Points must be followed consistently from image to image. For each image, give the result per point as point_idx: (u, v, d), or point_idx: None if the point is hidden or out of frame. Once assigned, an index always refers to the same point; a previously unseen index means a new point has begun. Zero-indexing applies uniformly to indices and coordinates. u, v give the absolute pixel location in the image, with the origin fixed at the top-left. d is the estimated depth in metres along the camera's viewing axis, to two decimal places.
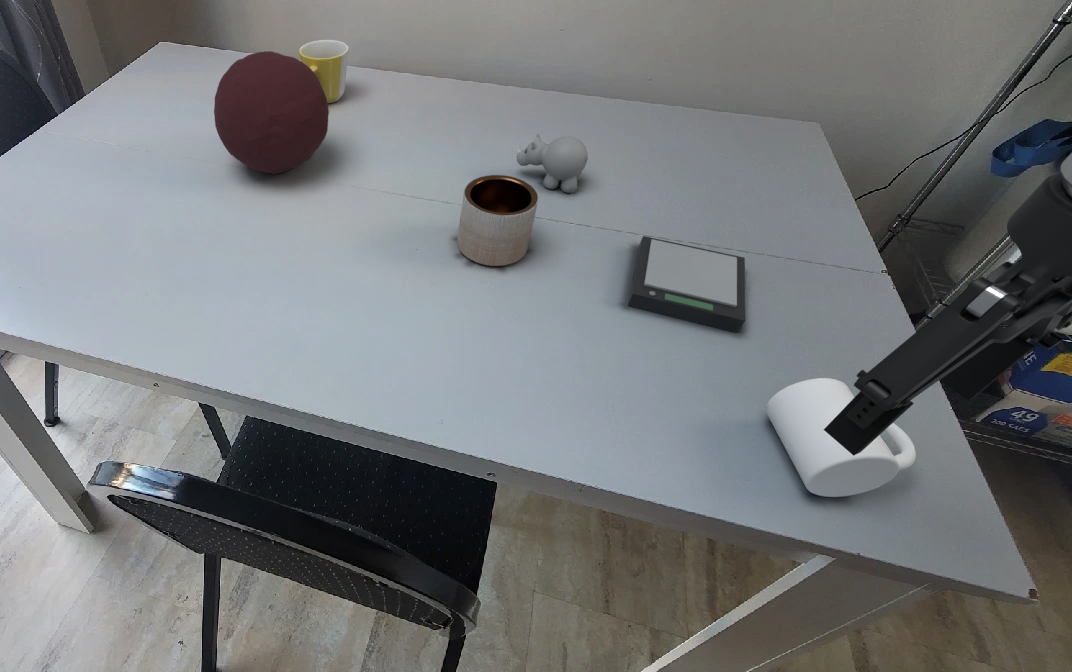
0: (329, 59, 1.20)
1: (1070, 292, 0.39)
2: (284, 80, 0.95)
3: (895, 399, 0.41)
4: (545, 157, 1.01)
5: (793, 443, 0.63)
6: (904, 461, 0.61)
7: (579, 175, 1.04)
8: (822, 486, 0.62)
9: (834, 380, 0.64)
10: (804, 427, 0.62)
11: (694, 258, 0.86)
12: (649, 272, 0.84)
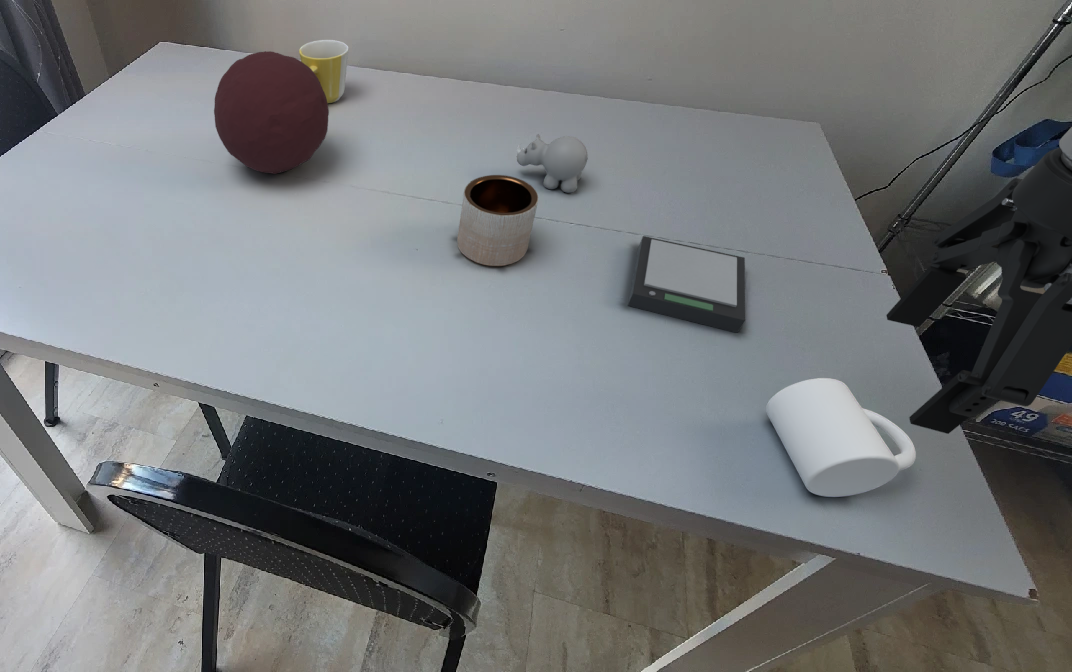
0: (329, 59, 1.20)
1: None
2: (284, 80, 0.95)
3: (1034, 395, 0.43)
4: (545, 157, 1.01)
5: (793, 443, 0.63)
6: (904, 461, 0.61)
7: (579, 175, 1.04)
8: (822, 486, 0.62)
9: (834, 380, 0.64)
10: (804, 427, 0.62)
11: (694, 258, 0.86)
12: (649, 272, 0.84)
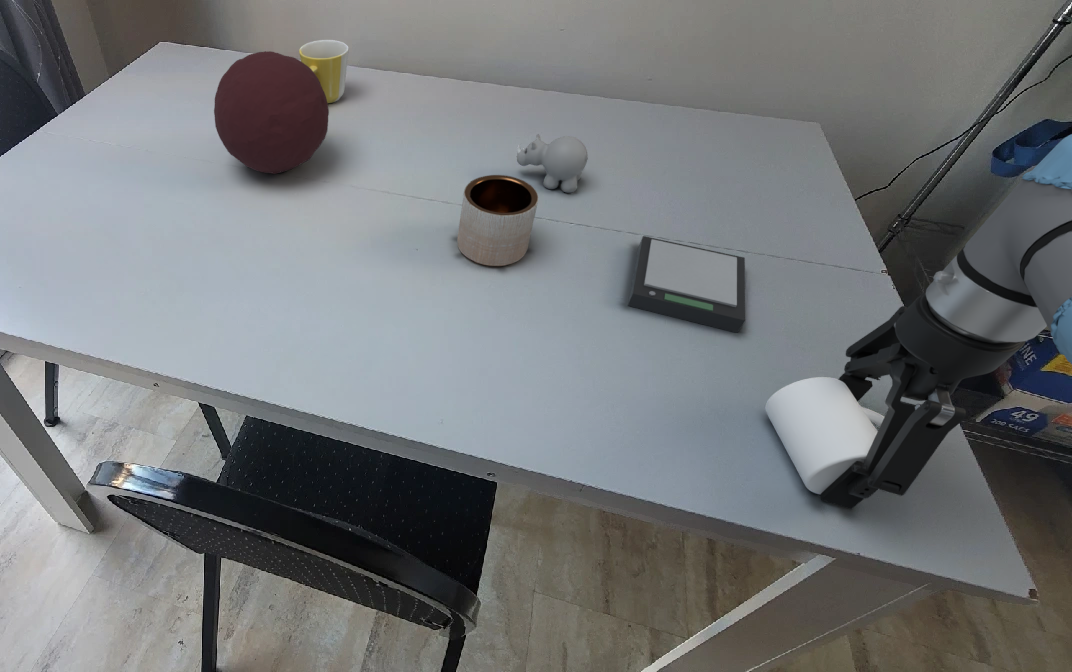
0: (329, 59, 1.20)
1: None
2: (284, 80, 0.95)
3: (906, 489, 0.54)
4: (545, 157, 1.01)
5: (792, 442, 0.63)
6: None
7: (579, 175, 1.04)
8: (822, 485, 0.62)
9: (833, 379, 0.64)
10: (803, 426, 0.62)
11: (694, 258, 0.86)
12: (649, 272, 0.84)
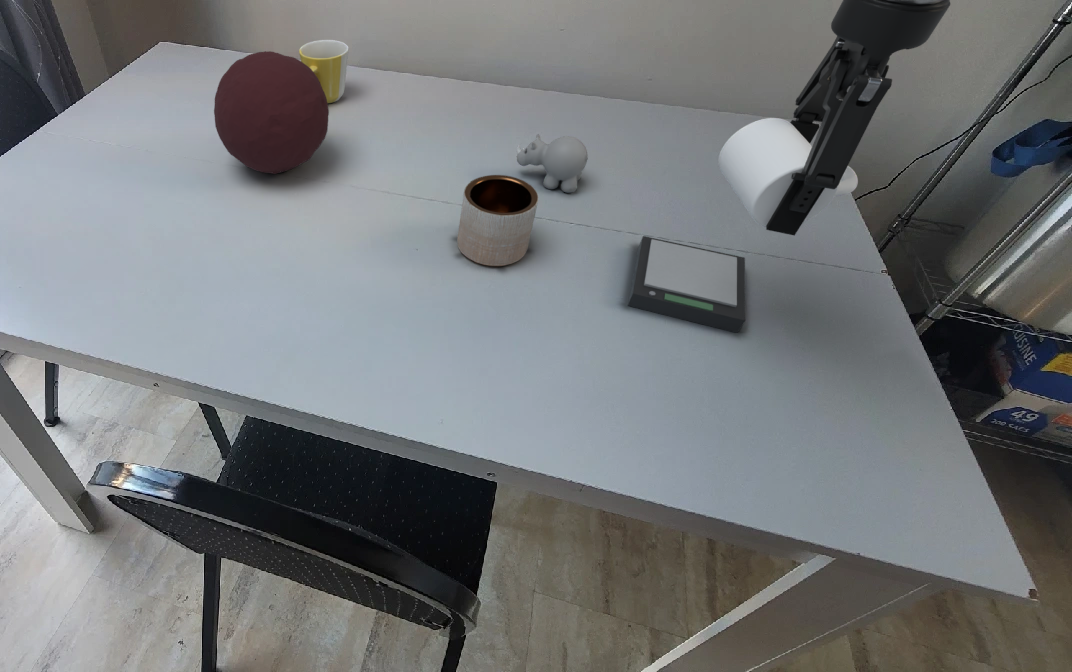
0: (329, 59, 1.20)
1: None
2: (284, 80, 0.95)
3: (839, 179, 0.56)
4: (545, 157, 1.01)
5: (740, 177, 0.65)
6: (845, 184, 0.63)
7: (579, 175, 1.04)
8: (767, 212, 0.64)
9: (781, 119, 0.66)
10: (750, 158, 0.64)
11: (694, 258, 0.86)
12: (649, 272, 0.84)
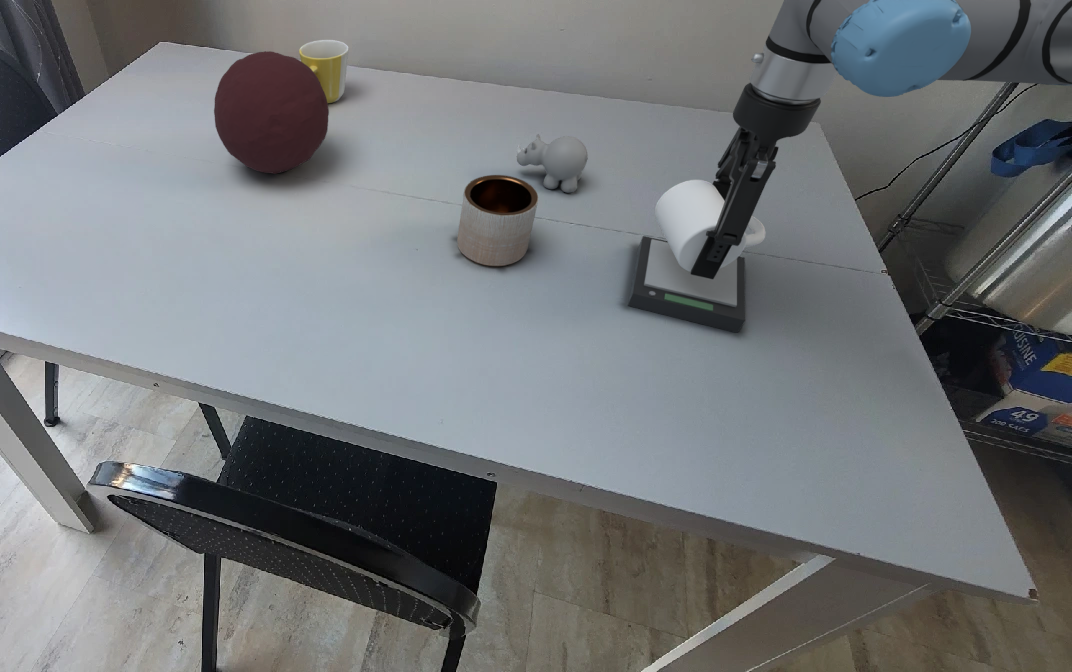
0: (329, 59, 1.20)
1: None
2: (284, 80, 0.95)
3: (740, 238, 0.69)
4: (545, 157, 1.01)
5: (669, 230, 0.78)
6: (754, 237, 0.76)
7: (579, 175, 1.04)
8: (690, 260, 0.77)
9: (704, 181, 0.79)
10: (677, 214, 0.77)
11: None
12: (649, 272, 0.84)
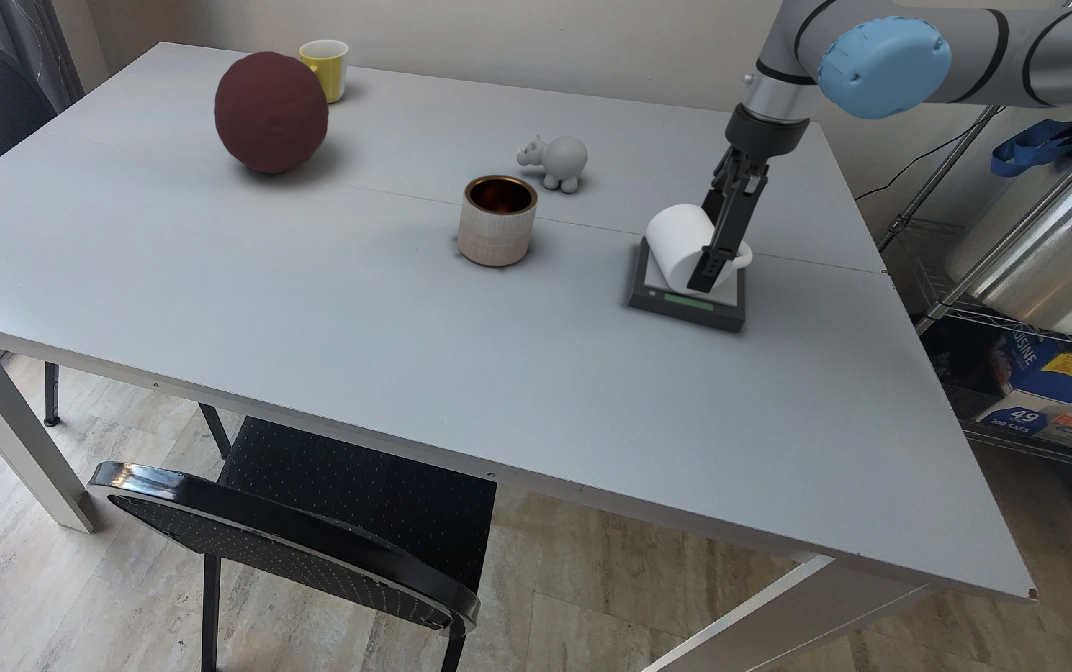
0: (329, 59, 1.20)
1: None
2: (284, 80, 0.95)
3: (735, 252, 0.69)
4: (545, 157, 1.01)
5: (659, 252, 0.81)
6: (741, 260, 0.78)
7: (579, 175, 1.04)
8: (679, 282, 0.79)
9: (693, 205, 0.82)
10: (666, 238, 0.80)
11: None
12: (649, 272, 0.84)
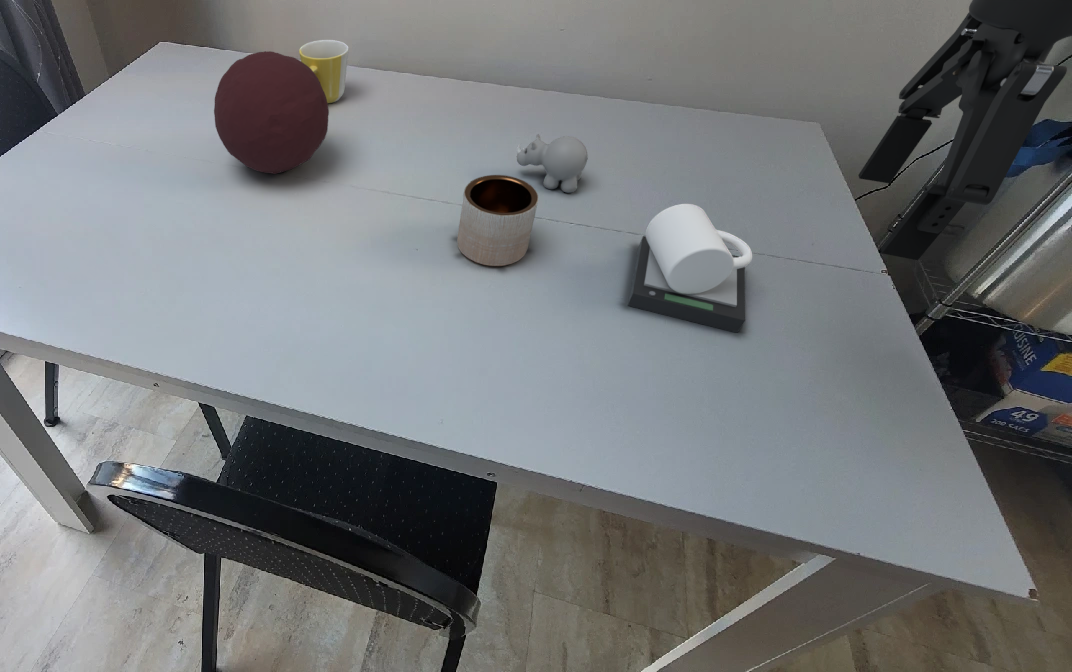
0: (329, 59, 1.20)
1: None
2: (284, 80, 0.95)
3: (995, 191, 0.45)
4: (545, 157, 1.01)
5: (659, 252, 0.81)
6: (741, 260, 0.78)
7: (579, 175, 1.04)
8: (679, 282, 0.79)
9: (693, 205, 0.82)
10: (666, 238, 0.80)
11: None
12: (649, 272, 0.84)
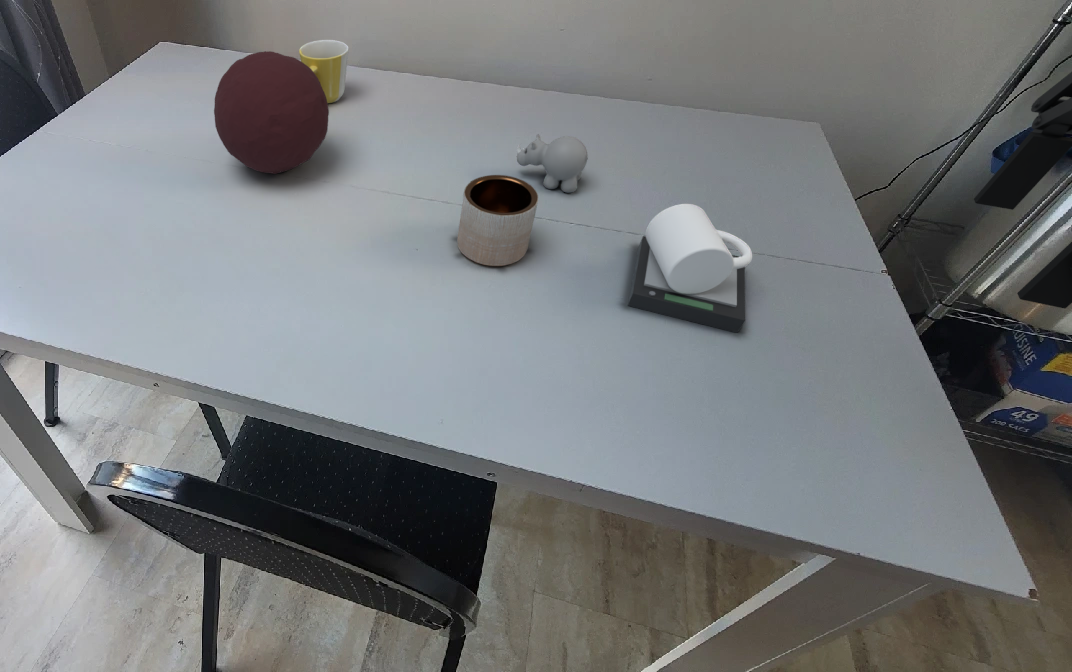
0: (329, 59, 1.20)
1: None
2: (284, 80, 0.95)
3: None
4: (545, 157, 1.01)
5: (659, 252, 0.81)
6: (741, 260, 0.78)
7: (579, 175, 1.04)
8: (679, 282, 0.79)
9: (693, 205, 0.82)
10: (666, 238, 0.80)
11: None
12: (649, 272, 0.84)
